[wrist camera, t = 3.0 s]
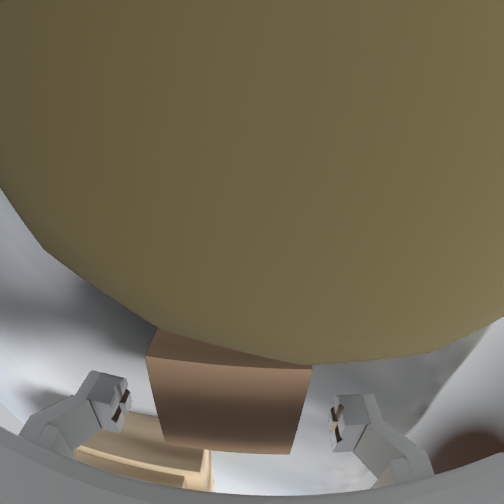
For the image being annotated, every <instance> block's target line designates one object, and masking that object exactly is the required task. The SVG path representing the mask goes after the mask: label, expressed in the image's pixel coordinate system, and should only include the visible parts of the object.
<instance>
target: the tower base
mask: <svg viewBox="0 0 504 504" xmlns="http://www.w3.org/2000/svg"><path fill="white" fill-rule="evenodd" d="M123 417H124V420H125V423H124V425H123V427H122V430H121V432H120V433H118V432H113V431H109V430H105V429H102V430H101V431H99V432H98V433H97V434H95V435H94V436H93V437H91V438H90V439H89V440H87V441H86V442H85V443H83V444H82V445H81V446H79V447H78V448H77V449H75V450H74V451H72V452H73V453H74V455H75V456H76V453H77V451H80V452H83V453H86V454H89V455H92V456H95V457H99V458H102V459H106V460H109V461H113V462H117V463H121V464H125V465H129V466H133V467H137V468H142V469H147V470H152V471H157V472H162V473H168V474H174V475H180V476H185V479H186V482H187V485H188V489H192V490H199V491H207V492H213V485H214V478H213V468H212V459H211V450H205V449H197V448H189V447H183V446H176V445H170V444H165V440H164V436H163V433H162V429H161V425H160V422H159V418H158V417H154V416H148V415H143V414H138V413H133V412H129V413H128V414H126V415H125V416H123Z"/></svg>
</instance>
